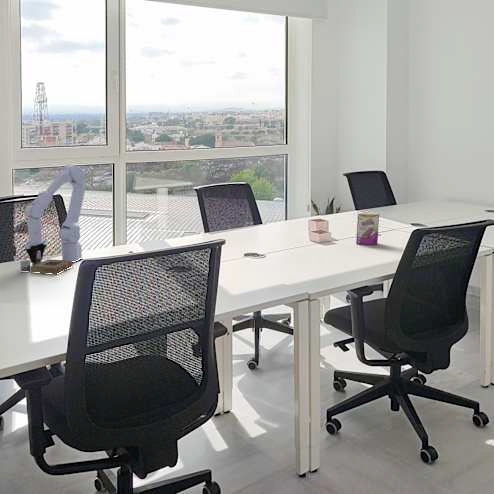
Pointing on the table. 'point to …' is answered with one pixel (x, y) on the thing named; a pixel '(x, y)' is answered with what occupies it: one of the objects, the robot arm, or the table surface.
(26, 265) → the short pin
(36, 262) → the tall pin
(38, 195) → the robot arm
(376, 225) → the candy bar box
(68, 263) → the wooden square frame
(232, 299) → the table surface
